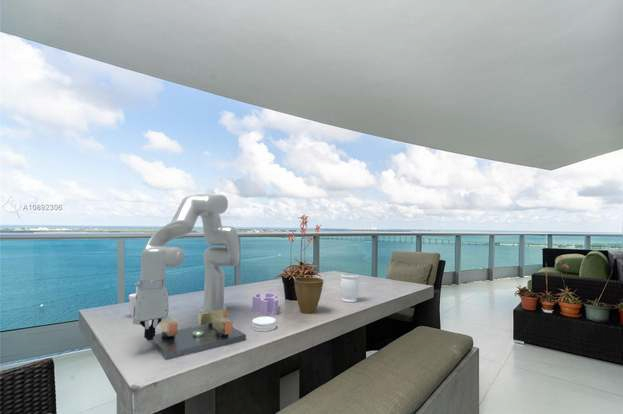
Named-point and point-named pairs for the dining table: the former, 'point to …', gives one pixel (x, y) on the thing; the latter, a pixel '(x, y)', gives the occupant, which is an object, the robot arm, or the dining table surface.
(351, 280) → the jar
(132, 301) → the smoothie
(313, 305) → the plant pot
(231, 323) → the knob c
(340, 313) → the dining table surface
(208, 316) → the beige rectangular block
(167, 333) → the olive and orange block
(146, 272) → the robot arm
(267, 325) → the white round disc
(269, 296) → the lavender lobed block
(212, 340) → the plate
